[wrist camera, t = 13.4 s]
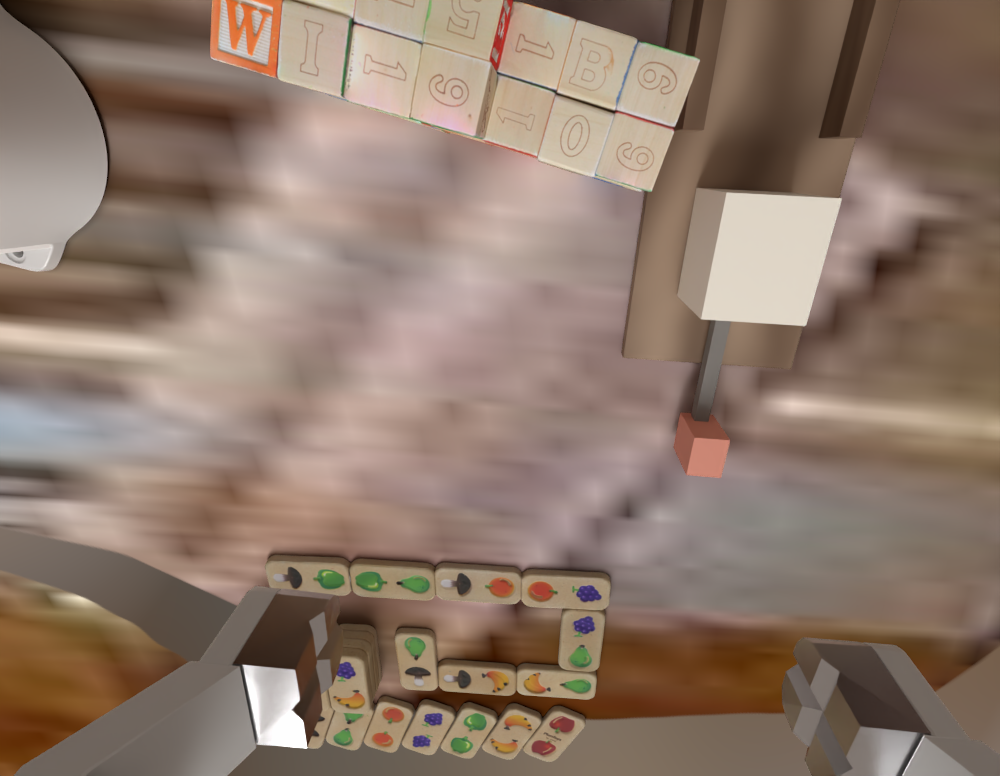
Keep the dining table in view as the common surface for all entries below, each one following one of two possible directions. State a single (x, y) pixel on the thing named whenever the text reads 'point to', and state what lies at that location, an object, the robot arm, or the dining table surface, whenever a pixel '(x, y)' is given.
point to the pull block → (745, 287)
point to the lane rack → (751, 145)
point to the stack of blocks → (476, 74)
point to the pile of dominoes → (432, 722)
